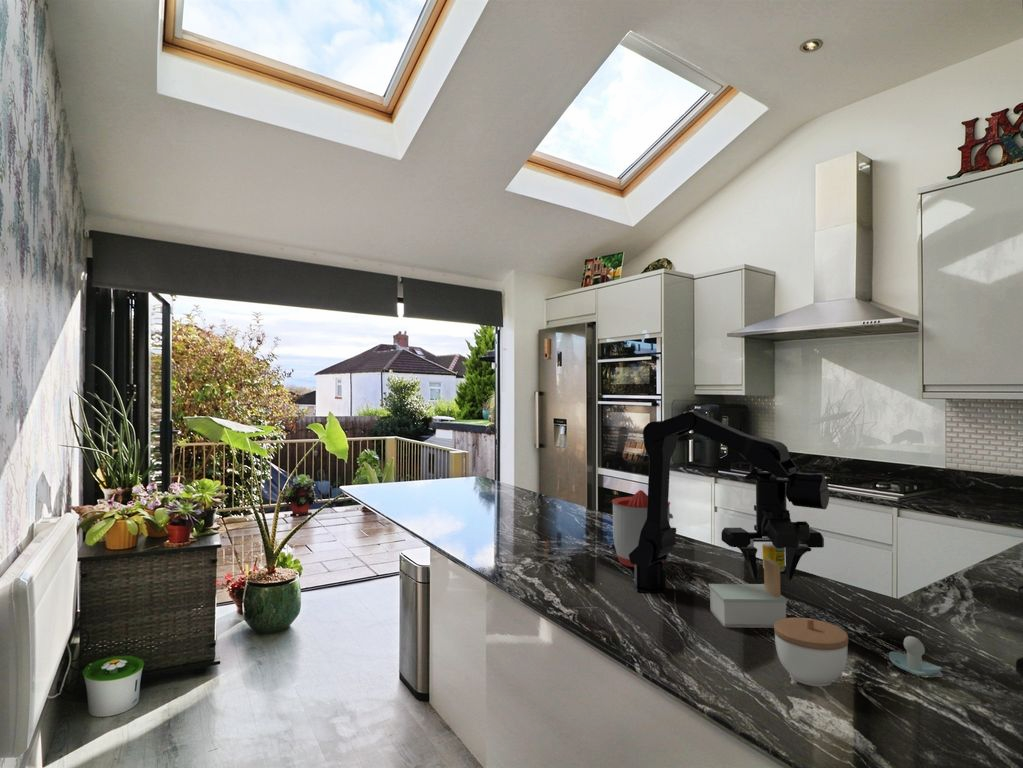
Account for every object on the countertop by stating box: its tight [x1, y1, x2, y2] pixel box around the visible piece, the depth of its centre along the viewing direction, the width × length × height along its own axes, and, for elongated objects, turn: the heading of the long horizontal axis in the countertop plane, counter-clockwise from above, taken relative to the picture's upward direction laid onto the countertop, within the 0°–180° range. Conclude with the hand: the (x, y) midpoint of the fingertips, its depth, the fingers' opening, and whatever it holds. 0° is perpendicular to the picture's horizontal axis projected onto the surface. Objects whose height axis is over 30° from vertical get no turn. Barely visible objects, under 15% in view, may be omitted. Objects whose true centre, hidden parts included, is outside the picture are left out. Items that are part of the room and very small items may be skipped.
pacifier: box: [888, 635, 944, 678], centre depth 97 cm, size 7×6×6 cm
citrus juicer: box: [611, 489, 674, 568], centre depth 161 cm, size 16×17×20 cm
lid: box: [708, 559, 788, 604], centre depth 120 cm, size 12×9×8 cm
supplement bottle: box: [762, 542, 786, 573], centre depth 155 cm, size 5×5×10 cm
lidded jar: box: [773, 617, 849, 688], centre depth 95 cm, size 11×11×9 cm
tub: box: [709, 587, 787, 629], centre depth 120 cm, size 12×9×5 cm
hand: (771, 579), depth 120 cm, fingers open, 7 cm apart
